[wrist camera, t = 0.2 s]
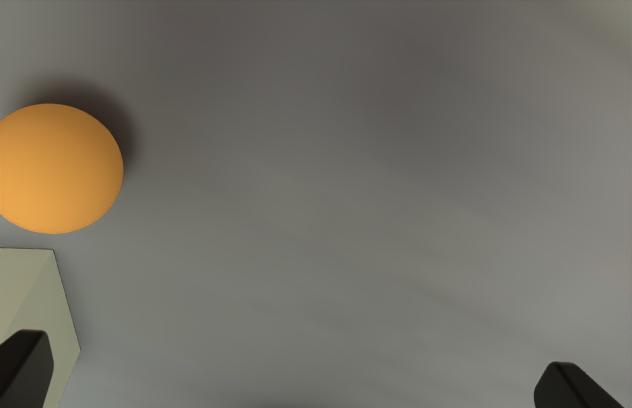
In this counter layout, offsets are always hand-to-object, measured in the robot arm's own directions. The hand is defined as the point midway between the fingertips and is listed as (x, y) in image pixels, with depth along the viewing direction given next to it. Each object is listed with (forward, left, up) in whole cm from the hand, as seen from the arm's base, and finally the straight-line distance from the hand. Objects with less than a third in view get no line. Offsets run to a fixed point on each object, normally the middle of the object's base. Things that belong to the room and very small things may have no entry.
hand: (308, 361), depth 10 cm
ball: (-4, +9, -12) cm, 15 cm away
